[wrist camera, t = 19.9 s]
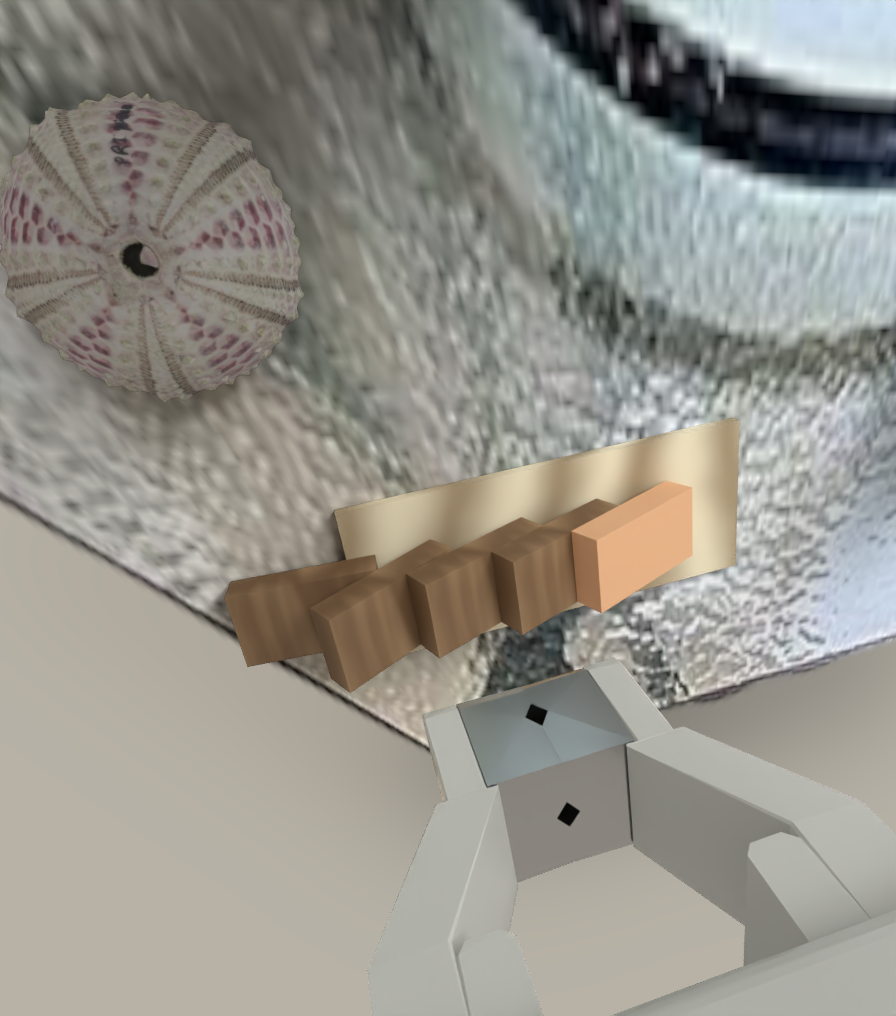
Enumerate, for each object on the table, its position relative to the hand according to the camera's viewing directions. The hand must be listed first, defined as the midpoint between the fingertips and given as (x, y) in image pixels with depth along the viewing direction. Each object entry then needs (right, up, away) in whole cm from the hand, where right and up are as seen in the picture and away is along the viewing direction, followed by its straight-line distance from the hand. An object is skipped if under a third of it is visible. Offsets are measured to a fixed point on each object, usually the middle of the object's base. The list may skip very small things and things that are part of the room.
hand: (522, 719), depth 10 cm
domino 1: (-5, -2, +31) cm, 32 cm away
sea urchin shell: (-15, +16, +24) cm, 33 cm away
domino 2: (-1, -1, +32) cm, 32 cm away
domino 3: (+5, 0, +33) cm, 33 cm away
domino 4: (+10, +1, +34) cm, 35 cm away
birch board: (+6, +1, +35) cm, 35 cm away
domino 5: (+14, +2, +35) cm, 38 cm away
